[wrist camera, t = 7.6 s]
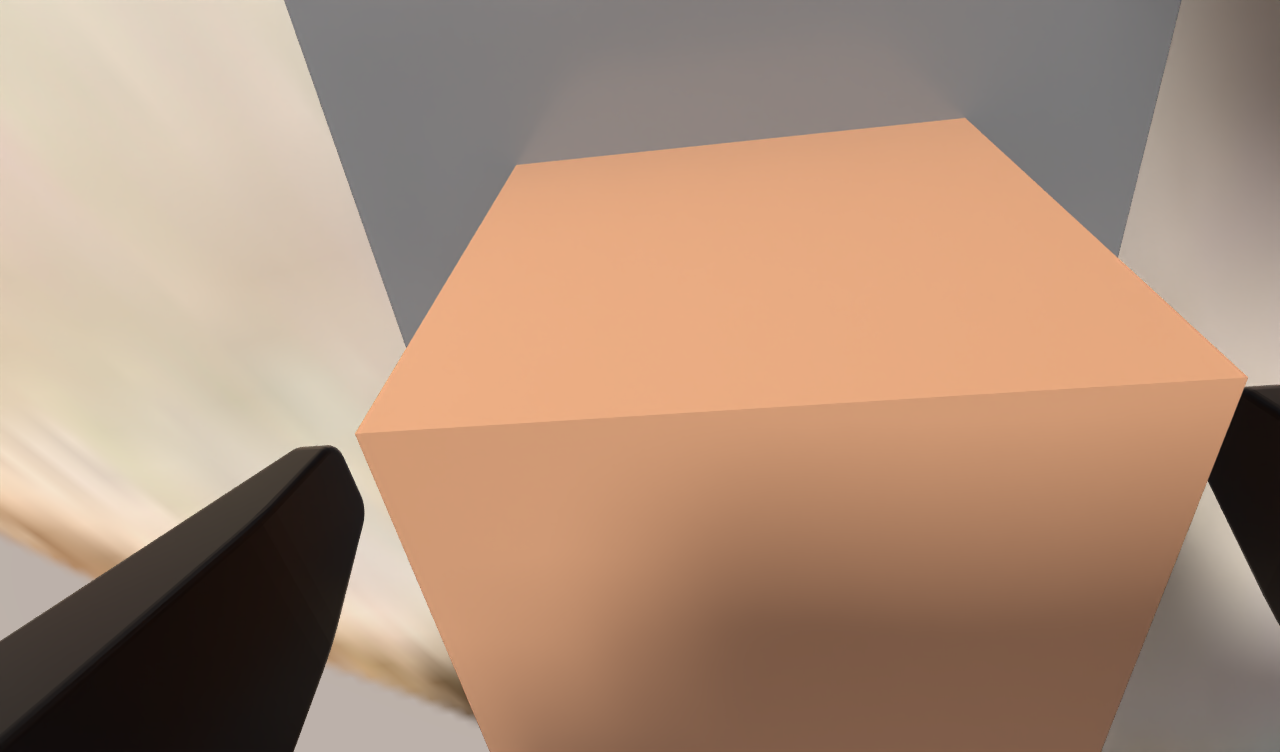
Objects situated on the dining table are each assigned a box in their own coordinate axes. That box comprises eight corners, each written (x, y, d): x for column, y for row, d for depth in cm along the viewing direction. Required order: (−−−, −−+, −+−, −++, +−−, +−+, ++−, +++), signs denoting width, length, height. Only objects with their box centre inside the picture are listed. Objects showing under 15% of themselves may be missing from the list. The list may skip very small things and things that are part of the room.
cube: (925, 467, 11) (1067, 836, 7) (586, 485, 11) (525, 834, 7) (965, 118, 8) (1247, 377, 4) (516, 164, 9) (355, 433, 5)
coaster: (1179, -134, 7) (1214, -134, 7) (1028, 529, 12) (1043, 557, 12) (307, -9, 8) (283, -2, 8) (495, 553, 13) (487, 579, 13)
